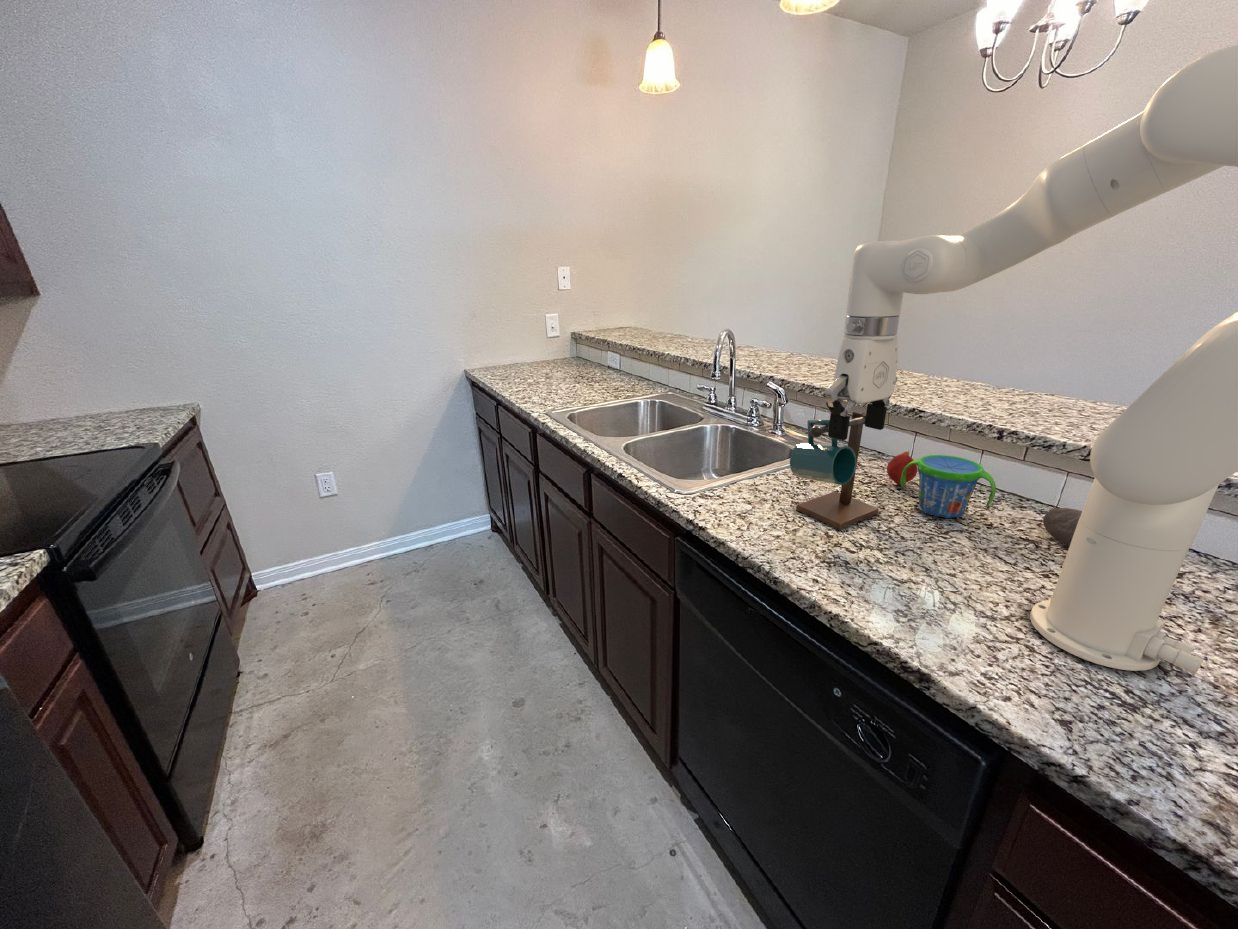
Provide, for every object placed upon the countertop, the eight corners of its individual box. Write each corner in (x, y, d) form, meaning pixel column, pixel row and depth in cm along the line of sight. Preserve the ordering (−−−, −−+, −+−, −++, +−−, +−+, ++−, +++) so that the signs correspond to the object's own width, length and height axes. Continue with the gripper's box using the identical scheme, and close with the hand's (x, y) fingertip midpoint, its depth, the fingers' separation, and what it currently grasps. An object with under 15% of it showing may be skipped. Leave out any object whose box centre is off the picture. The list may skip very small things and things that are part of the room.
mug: (814, 473, 97) (856, 480, 89) (790, 481, 93) (832, 488, 86) (812, 415, 94) (855, 417, 87) (787, 421, 91) (830, 424, 83)
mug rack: (878, 513, 98) (896, 416, 91) (817, 538, 90) (832, 432, 83) (834, 496, 106) (847, 405, 99) (775, 517, 98) (785, 419, 91)
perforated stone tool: (1028, 531, 91) (1038, 496, 88) (1054, 529, 91) (1065, 494, 89) (1113, 577, 77) (1129, 538, 74) (1143, 575, 77) (1160, 535, 75)
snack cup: (887, 506, 101) (896, 459, 98) (909, 491, 108) (918, 447, 104) (975, 534, 90) (989, 482, 86) (994, 516, 96) (1008, 467, 93)
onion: (887, 488, 110) (893, 454, 107) (882, 478, 115) (888, 445, 112) (916, 491, 108) (923, 456, 105) (910, 481, 113) (917, 447, 110)
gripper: (857, 333, 70) (842, 448, 76) (926, 325, 79) (907, 429, 85) (813, 330, 76) (802, 436, 82) (881, 322, 85) (867, 420, 91)
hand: (856, 432), depth 83 cm, fingers open, 9 cm apart
